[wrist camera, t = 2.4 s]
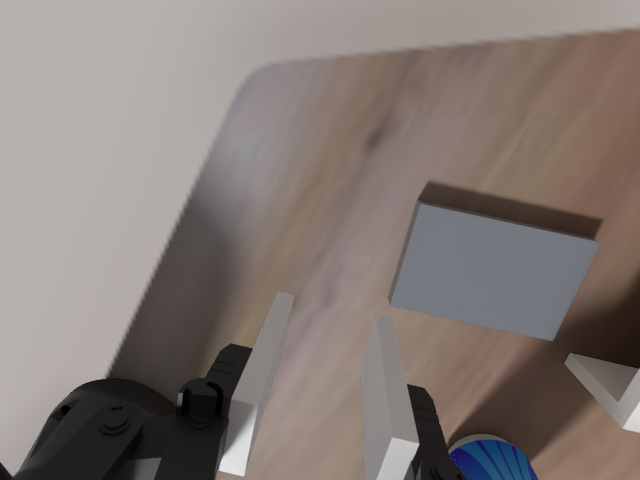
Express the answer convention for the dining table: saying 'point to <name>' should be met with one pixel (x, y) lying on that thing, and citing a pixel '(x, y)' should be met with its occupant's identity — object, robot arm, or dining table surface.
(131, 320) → the dining table surface
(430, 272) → the tile
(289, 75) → the dining table surface
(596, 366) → the overhang
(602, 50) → the dining table surface
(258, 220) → the dining table surface
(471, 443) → the beer can
